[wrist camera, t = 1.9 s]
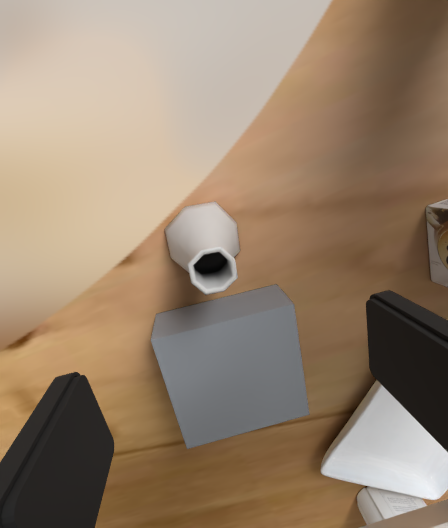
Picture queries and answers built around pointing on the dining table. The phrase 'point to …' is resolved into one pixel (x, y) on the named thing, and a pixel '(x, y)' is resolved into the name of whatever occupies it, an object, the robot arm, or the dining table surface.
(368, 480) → the salad plate
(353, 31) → the dining table surface
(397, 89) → the dining table surface
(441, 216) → the coffee box
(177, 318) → the slate block
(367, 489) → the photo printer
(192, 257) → the flask
